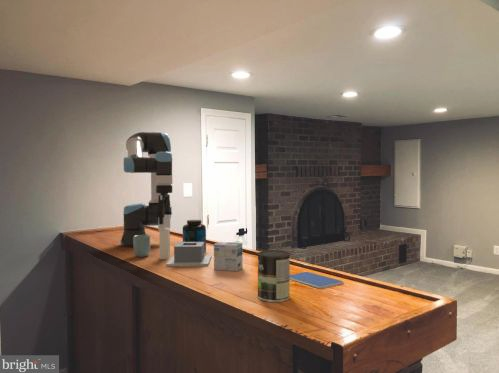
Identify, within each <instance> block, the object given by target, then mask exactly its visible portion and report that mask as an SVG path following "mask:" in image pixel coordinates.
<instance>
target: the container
mask: <svg viewBox="0 0 499 373" xmlns="http://www.w3.org/2000/svg"><path fill="white" fill-rule="evenodd" d="M182 242H204V253H205V252H206V251H207V227H206V225H205V224H203V223H202V220H201V219H188V220H187V221H186V224H183V226H182Z"/></svg>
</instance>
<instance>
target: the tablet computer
mask: <svg viewBox="0 0 499 373" xmlns="http://www.w3.org/2000/svg"><path fill="white" fill-rule="evenodd" d="M290 280H291V281H292V282H293V281H294V282H297V283H299V284H303V285H307V286H310V287H313V288H316V289H318V290H323V289H327V288H331V287H335V286H339V285H344V281H343V280H339V279H336V278H331V277H328V276H324V275H321V274H316V273H313V272H310V271H303V272H298V273H294V274H293V273H292V274H290Z"/></svg>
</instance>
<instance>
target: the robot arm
mask: <svg viewBox="0 0 499 373" xmlns="http://www.w3.org/2000/svg"><path fill="white" fill-rule="evenodd" d="M125 149H126V150H127V157H123V172H124V173H126V174H127V173H131V174H136V173H138V174H141V173H142V174H143V173H144V174H145V173H147V174H150V194H151V195H150V196H151V197H150V200H149V201H148V205H146V204H145V203H143V202H141V203H134V204H128V205H125V206H124V207H123V213H122V214H123V232H122V236H121V239H120V246H121V247H127V248H129V247H133V248H134V243H133V238H134V236H135V235H147V233H146V227H149V226H153V227H154V226H158V227H157V228H158V230H157V231H158V233H159V232H164V231H165V228H170V229H171V218H172V214H173V212H172V210H173V209H172V207H173V206H172V204H171V199H170V198H171V196H170V194H172V193H173V185H172V184H173V153H172V145H171V139H170V136H169V134H168V133H166V132H157V131H156V132H151V131H150V132H148V131H145V132H144V131H141V132H136V133H134V134H132V135H131V136H129V137H128V138H127V140H126V142H125ZM144 153H147V156H148V157H144V155H143V154H144Z"/></svg>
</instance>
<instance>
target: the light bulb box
mask: <svg viewBox="0 0 499 373" xmlns="http://www.w3.org/2000/svg"><path fill="white" fill-rule="evenodd" d="M243 254H244V253H243V242H230V241H229V242H226V241H224V242H223V241H219V242H216V243H214V244H213V270H215V271H216V270H217V271H218V270H219V271H230V272H238V271H240V270H241V269H243V267H244V266H243V265H244V264H243V261H244V260H243Z"/></svg>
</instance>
